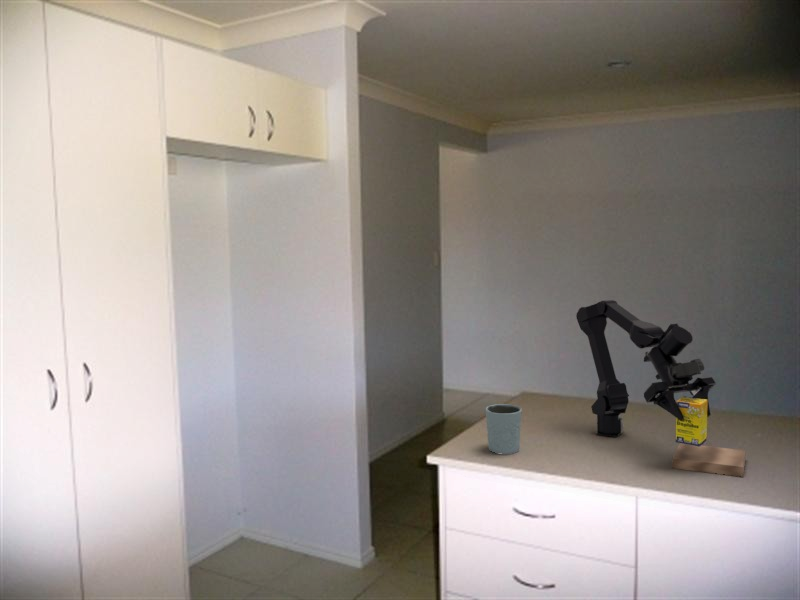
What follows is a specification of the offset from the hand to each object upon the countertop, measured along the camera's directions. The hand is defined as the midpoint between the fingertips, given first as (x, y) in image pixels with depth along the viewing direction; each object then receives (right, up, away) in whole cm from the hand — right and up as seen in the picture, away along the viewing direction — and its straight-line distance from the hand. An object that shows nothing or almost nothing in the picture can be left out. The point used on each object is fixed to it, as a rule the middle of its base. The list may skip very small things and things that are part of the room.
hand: (695, 417), depth 169 cm
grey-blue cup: (-45, -13, +21) cm, 51 cm away
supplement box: (0, -7, +2) cm, 7 cm away
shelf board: (+5, -13, +4) cm, 14 cm away
